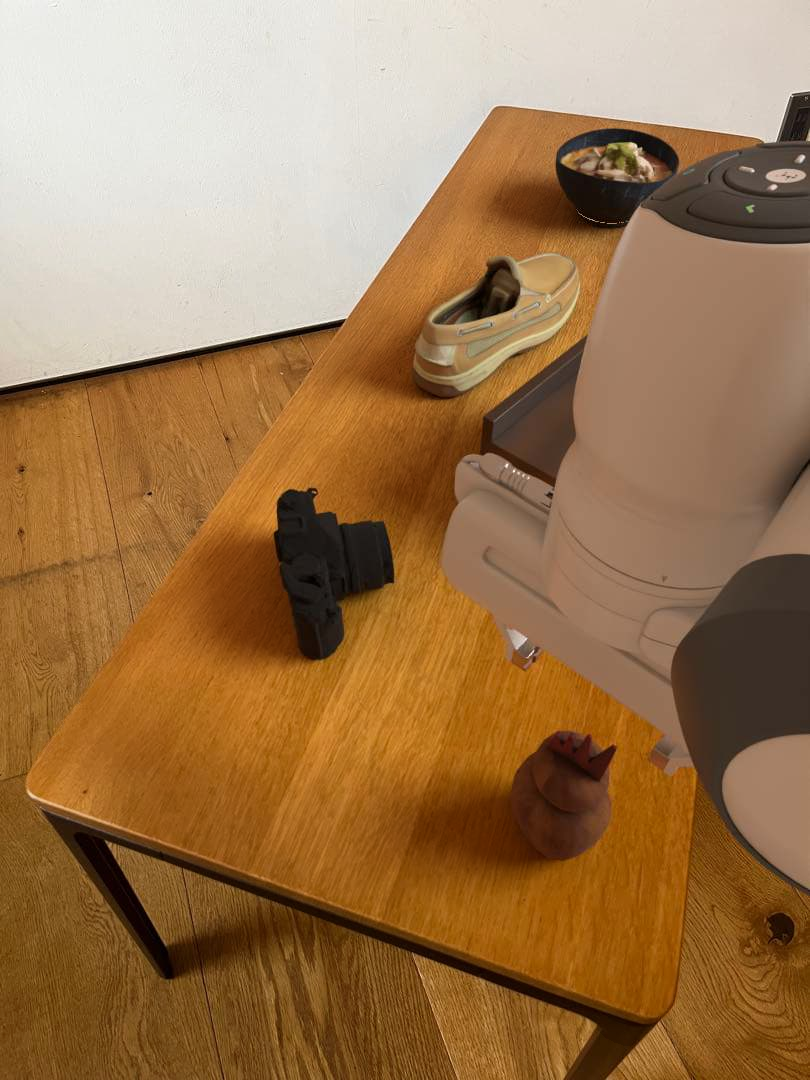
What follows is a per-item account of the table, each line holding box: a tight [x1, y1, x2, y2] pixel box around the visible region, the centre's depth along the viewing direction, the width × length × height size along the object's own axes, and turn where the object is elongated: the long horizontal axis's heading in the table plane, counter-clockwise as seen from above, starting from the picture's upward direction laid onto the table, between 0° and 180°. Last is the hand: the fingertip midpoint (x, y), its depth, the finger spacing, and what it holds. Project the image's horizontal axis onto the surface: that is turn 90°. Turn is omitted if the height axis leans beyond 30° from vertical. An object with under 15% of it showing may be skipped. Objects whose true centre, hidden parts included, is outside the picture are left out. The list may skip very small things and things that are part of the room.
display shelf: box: [479, 333, 588, 488], centre depth 75 cm, size 12×18×12 cm, turn 138°
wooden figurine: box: [508, 730, 618, 862], centre depth 51 cm, size 7×6×15 cm
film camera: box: [273, 487, 395, 661], centre depth 68 cm, size 15×10×9 cm, turn 12°
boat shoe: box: [412, 251, 581, 398], centre depth 92 cm, size 10×29×11 cm, turn 144°
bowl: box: [554, 127, 680, 229], centre depth 113 cm, size 17×17×10 cm
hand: (590, 706), depth 44 cm, fingers open, 8 cm apart
